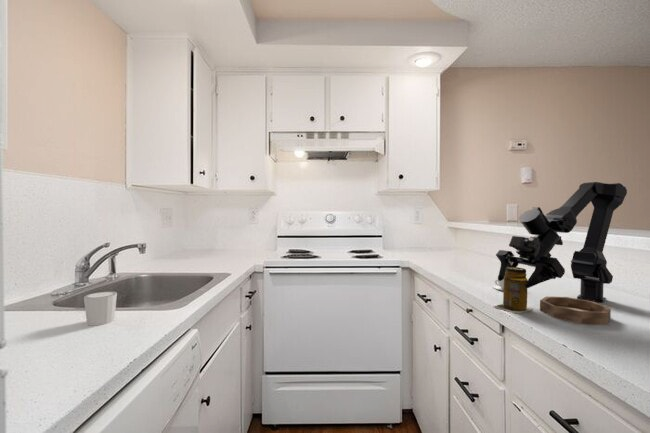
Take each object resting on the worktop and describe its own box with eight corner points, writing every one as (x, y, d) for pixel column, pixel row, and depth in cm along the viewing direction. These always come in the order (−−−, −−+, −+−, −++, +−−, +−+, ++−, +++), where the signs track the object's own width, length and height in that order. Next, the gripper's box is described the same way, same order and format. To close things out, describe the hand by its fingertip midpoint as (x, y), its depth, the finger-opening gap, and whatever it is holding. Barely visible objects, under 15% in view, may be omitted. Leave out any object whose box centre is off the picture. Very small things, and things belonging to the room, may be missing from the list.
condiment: (533, 309, 91) (533, 268, 91) (519, 314, 86) (519, 271, 86) (507, 303, 97) (508, 265, 97) (492, 307, 92) (493, 267, 92)
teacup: (511, 286, 119) (512, 274, 119) (530, 293, 109) (531, 280, 109) (487, 286, 119) (487, 274, 119) (504, 293, 109) (504, 280, 109)
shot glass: (78, 327, 74) (78, 299, 74) (91, 318, 81) (91, 291, 81) (111, 325, 76) (110, 297, 76) (121, 316, 83) (121, 290, 83)
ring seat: (550, 303, 96) (550, 294, 96) (613, 315, 85) (613, 305, 85) (535, 313, 87) (535, 302, 87) (603, 328, 76) (603, 316, 76)
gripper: (500, 225, 101) (472, 260, 98) (558, 228, 84) (526, 271, 81) (518, 248, 104) (492, 283, 101) (578, 256, 86) (548, 298, 83)
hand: (511, 283), depth 91 cm, fingers open, 9 cm apart
